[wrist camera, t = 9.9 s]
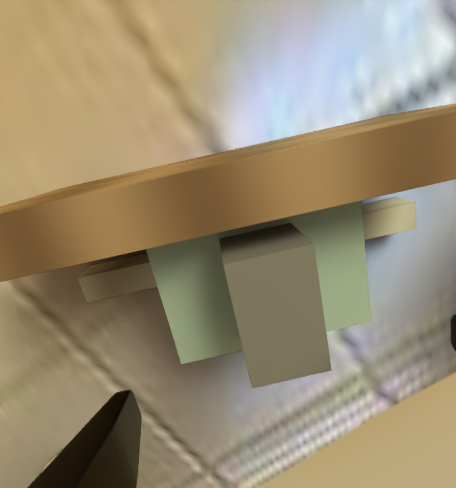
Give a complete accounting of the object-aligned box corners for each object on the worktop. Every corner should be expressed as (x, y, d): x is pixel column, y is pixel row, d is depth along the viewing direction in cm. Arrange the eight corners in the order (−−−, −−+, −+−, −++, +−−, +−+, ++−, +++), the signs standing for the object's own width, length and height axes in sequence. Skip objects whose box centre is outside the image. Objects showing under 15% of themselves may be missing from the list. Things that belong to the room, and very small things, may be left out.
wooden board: (391, 114, 19) (580, 83, 9) (397, 220, 21) (558, 284, 11) (60, 188, 19) (-87, 233, 9) (97, 288, 21) (7, 408, 11)
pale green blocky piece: (308, 178, 20) (404, 208, 10) (320, 267, 21) (411, 363, 12) (164, 210, 20) (127, 271, 10) (188, 297, 21) (175, 417, 12)
